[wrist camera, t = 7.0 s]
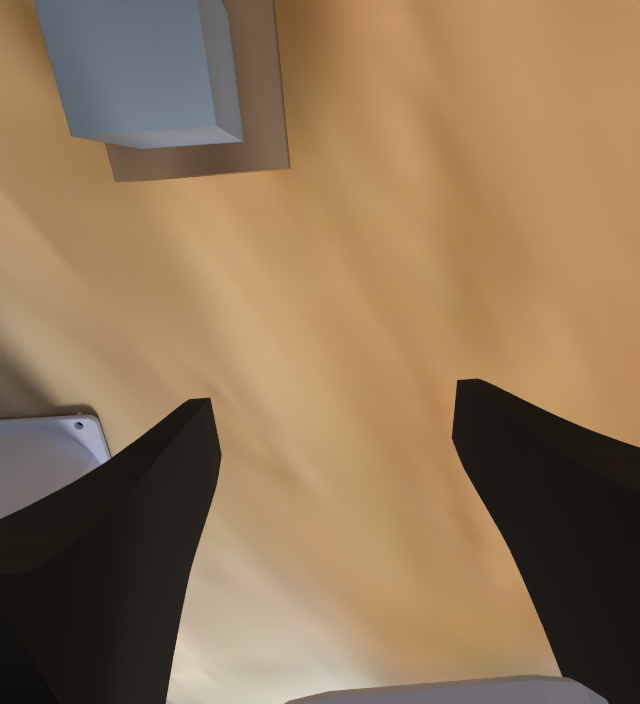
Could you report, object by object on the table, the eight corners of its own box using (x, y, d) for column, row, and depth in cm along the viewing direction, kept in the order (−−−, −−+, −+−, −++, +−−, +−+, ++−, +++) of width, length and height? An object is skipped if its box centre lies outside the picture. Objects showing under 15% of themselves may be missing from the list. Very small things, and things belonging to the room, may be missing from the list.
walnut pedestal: (143, 181, 19) (115, 181, 16) (97, -9, 16) (54, -48, 13) (290, 168, 19) (288, 167, 16) (272, -23, 16) (265, -65, 13)
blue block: (141, 148, 15) (71, 136, 11) (113, 21, 14) (16, -58, 9) (243, 141, 15) (216, 126, 11) (227, 12, 14) (187, -70, 9)
